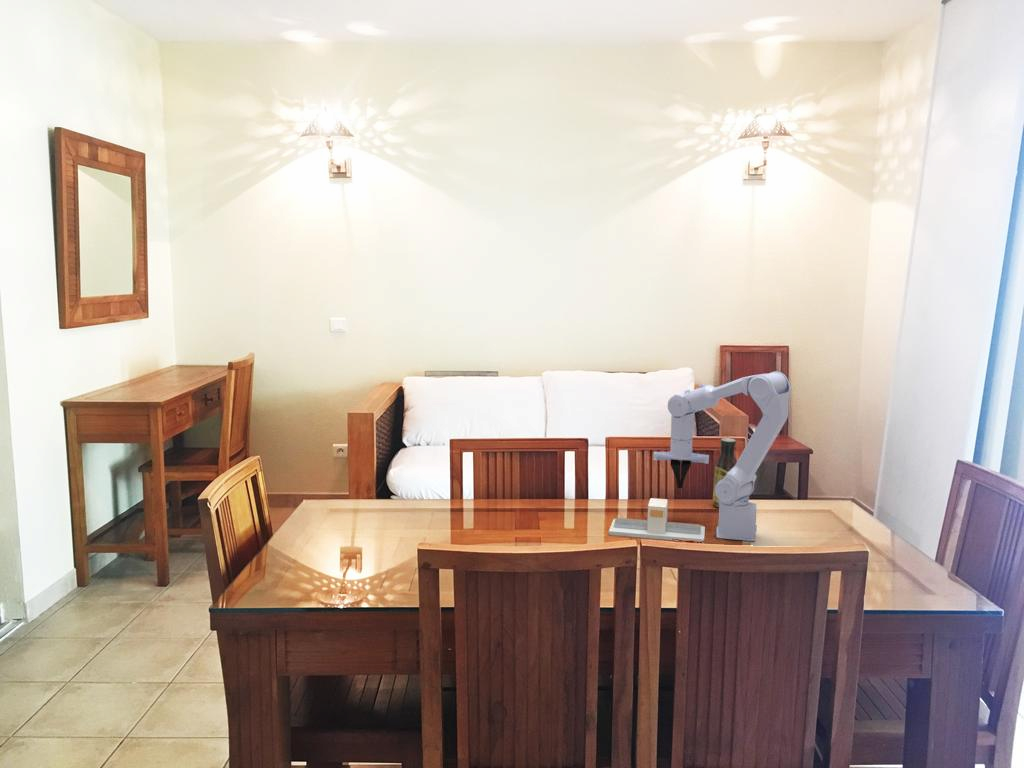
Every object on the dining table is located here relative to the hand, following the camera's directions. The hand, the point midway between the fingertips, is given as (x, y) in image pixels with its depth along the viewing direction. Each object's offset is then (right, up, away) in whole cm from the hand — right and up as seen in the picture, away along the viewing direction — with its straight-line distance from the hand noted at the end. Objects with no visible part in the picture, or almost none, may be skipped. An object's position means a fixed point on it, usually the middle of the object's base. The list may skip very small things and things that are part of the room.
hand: (679, 487), depth 215 cm
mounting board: (-8, -11, -8) cm, 15 cm away
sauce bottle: (+16, -8, +14) cm, 22 cm away
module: (-8, -10, -8) cm, 15 cm away
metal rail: (-8, -11, -8) cm, 15 cm away
